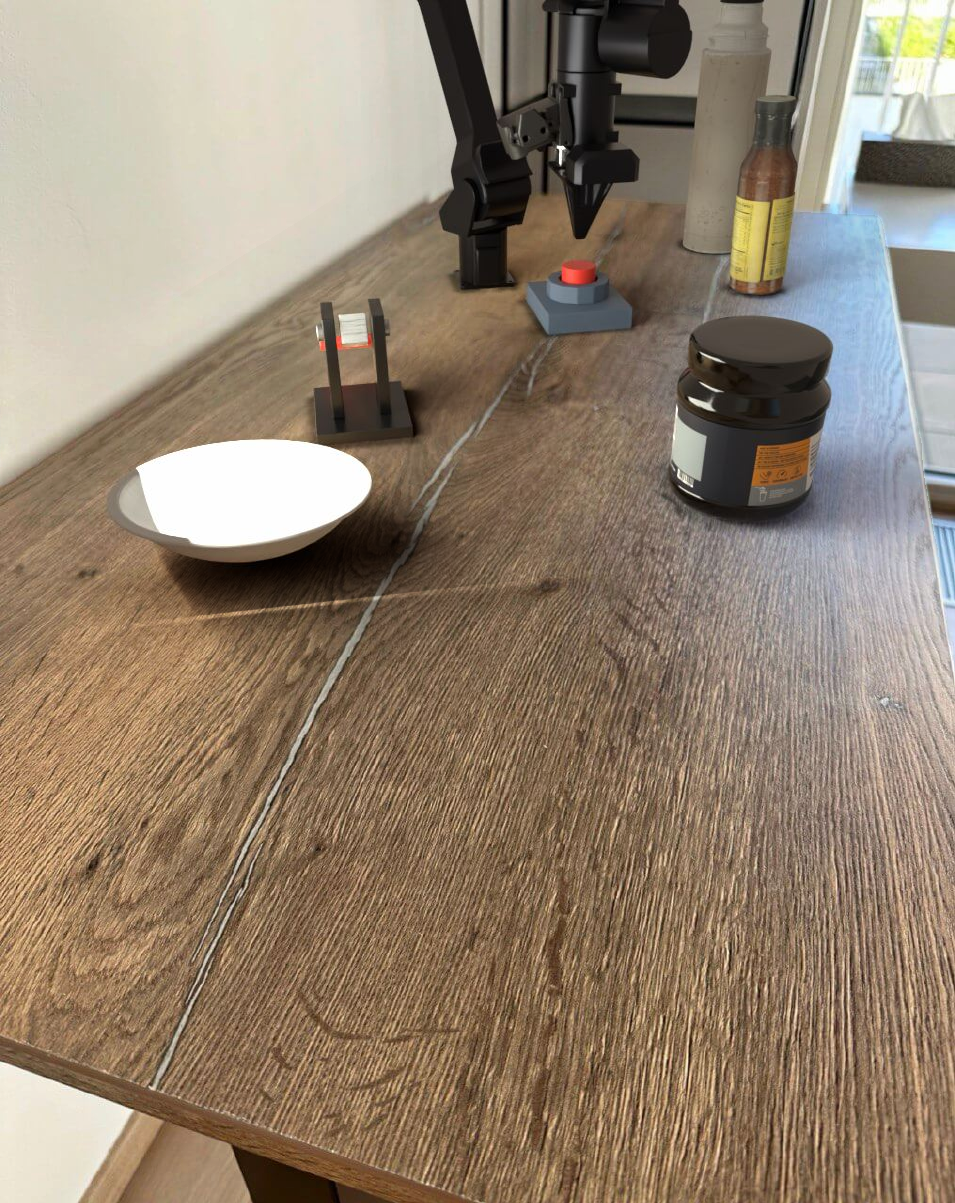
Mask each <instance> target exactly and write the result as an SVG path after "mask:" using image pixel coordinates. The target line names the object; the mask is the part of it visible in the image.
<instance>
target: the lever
mask: <svg viewBox="0 0 955 1203" xmlns="http://www.w3.org/2000/svg"><path fill="white" fill-rule="evenodd" d="M338 325H339V335H336V341H337V351H338V350H339V351H340V350H348V349H349V350H351V349H363V348H372V342H371V333H369V332H368V324H367V314H366V312H351V313H339V314H338ZM319 349H320V351H321V352H323V351H324V352H325V346H324V341H320V342H319Z"/></svg>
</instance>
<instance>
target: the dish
mask: <svg viewBox="0 0 955 1203" xmlns="http://www.w3.org/2000/svg"><path fill="white" fill-rule="evenodd" d="M372 490H373V478H372V475H371V473H370V471H369V469H368V468H367V467H366V465H365V464H363V462H361V461H360V460H359V459H357V458H356V457H354V456H352V455H350V454H349V453H346V452H344V451H341V450H339V449H336V448H332V447H329V446H327V445H322V446H321V445H318V444H317V443H310V442H305V441H296V440H286V439H285V440H284V439H245V440H234V441H224V442H217V443H211V444H205V445H199V446H194V447H191V448H186V449H182V450H179V451H175V452H172V453H168V454H165V455H163V456H160V457H157V458H155V459H152V460H150V461H148V462H145V463H143V464H141V465H139V466H137V467H135V468H134V469H132V470H130V471H129V472H127V473H126V474H124V475H123V476H122V477H121V478H120V479H119V480H117V481H116V482H115V483H114V484H113V486H112V487H111V488H110V490H109V492H108V494H107V497H106V504H105V505H106V510H107V513H108V515H109V517H110V518H111V519H112V521H113V522H114V523H115V524H116V525H117V526H118V527H120V528H121V529H123V530H124V531H126V532H128V533H129V534H131V535H134V536H136V537H139V538H141V539H144V540H148V541H150V542H152V543H154V544H156V545H158V546H160V547H162V548H164V549H166V550H168V551H171V552H174V553H177V554H180V555H181V556H185V557H189V558H193V559H198V560H203V561H209V562H217V563H252V562H258V561H259V562H260V561H265V560H271V559H274V558H275V559H276V558H279V557H282V556H285V555H289V554H291V553H295V552H297V551H300V550H302V549H304V548H306V547H308V546H309V545H311V544H314V543H315V542H317V541H318V540H320V539H322V538H323V537H324V536H326V535H327V534H329V533H330V532H331V531H333V529H335V528H336V527H337V526H339V524H341V523H342V521H343V520H345V519H346V518H348V517H350V516H351V515H352V514H354V513H355V512H356V511H357V510H359V509H360V508H361V507H362V506H363V505H364V504H365V502H366V501H367V500H368V499H369V497H370V495H371V492H372Z"/></svg>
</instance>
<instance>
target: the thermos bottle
mask: <svg viewBox="0 0 955 1203" xmlns="http://www.w3.org/2000/svg"><path fill="white" fill-rule="evenodd" d="M719 2H720V3H721V7H720V9H719V17H718V21H717V23H715V24H714V25H713V26H711V27H710V30H709V37H708V38H707V40H708V46H707V47H705V48H703V49H702V51H701V58H700V67H699V68H700V69H699V78H698V88H697V96H696V97H697V98H696V107H695V109H696V110H695V119H694V127H693V128H694V129H693V138H692V147H691V148H692V149H691V157H690V158H691V159H690V172H689V173H690V174H689V183H688V190H687V198H686V207H685V216H684V226H683V227H684V228H683V237H682V245H683V247H684V248H686V249H688V250H690V251H693V252H697V253H701V254H702V253H703V254H715V255H717V254H718V255H720V254H731V250H732V237H733V226H734V215H735V206H736V196H737V189H738V181H739V174H740V167H741V163H742V162H743V160H744V159H745V157H746V155H747V154H748V152H749V150H750V148H751V147H752V145H753V137H754V132H755V122H756V113H755V105H756V100H757V98H759V97H762V96H767V88H768V82H769V74H770V66H771V60H772V53H773V52H772V49H771V48H769V47H768V46H767V44H768V38H769V37H770V35H769V27H768V25H766V24H765V23H764V22H763V14H764V7H763V5H764V4H763V3H764V2H765V0H719Z"/></svg>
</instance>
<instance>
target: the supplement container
mask: <svg viewBox="0 0 955 1203" xmlns="http://www.w3.org/2000/svg"><path fill="white" fill-rule="evenodd" d="M833 352H834V343H833V341H832V340H831V338H830V337H829V336H828V335H827V334H826V333H824V332H823V331H822V330H820V329H818V328H816V327H814V326H812V325H809V324H806V323H804V322H800V321H797V320H793V319H789V318H788V319H787V318H783V317H775V316H768V315H731V316H724V317H719V318H715V319H712V320H708V321H706V322H703V323H701V324H700V325H698V326H697V327H695V328H694V329H693V330H692V331H691V333H690V335H689V338H688V347H687V356H686V363H687V367H686V368H684V369H683V370H682V372H680V374H679V376H678V379H677V382H676V396H677V398H676V407H675V416H674V426H673V434H672V435H673V436H672V443H671V453H670V462H669V465H668V470H667V474H668V475H667V480H668V483H669V484H668V485H669V487H670V489H671V491H672V492H673V494H674V496H676V498H677V499H679V501H681V502H682V503H683V504H684V505H685V506H687V507H689V508H690V509H692V510H694V511H696V512H698V513H700V514H702V515H706V516H708V517H711V518H715V519H718V520H723V521H727V522H736V523H760V522H761V523H762V522H768V521H772V520H777V519H780V518H784V517H786V516H788V515H791V514H792V513H794V512H796V511H797V510H799V509H800V508H801V507H802V506H804V504H805V503H806V502H807V500H808V499H809V497H810V495H811V492H812V488H813V483H814V479H813V478H814V474H815V469H816V465H817V460H818V454H819V449H820V445H821V441H822V440H821V439H822V435H823V431H824V430H823V429H824V425H825V422H826V421H825V420H826V416H827V411H828V409H829V408H830V405H831V401H832V388H831V386H830V385H831V384H830V383H829V382H828V381H827V379H826V377H827V376H828V375H829V372H830V368H831V363H832V357H833Z"/></svg>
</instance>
